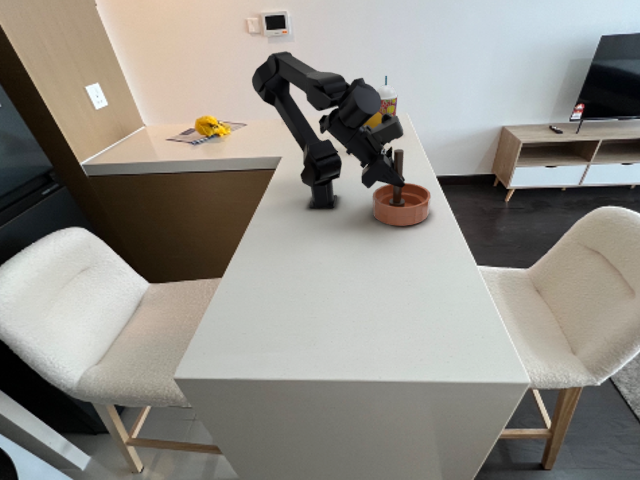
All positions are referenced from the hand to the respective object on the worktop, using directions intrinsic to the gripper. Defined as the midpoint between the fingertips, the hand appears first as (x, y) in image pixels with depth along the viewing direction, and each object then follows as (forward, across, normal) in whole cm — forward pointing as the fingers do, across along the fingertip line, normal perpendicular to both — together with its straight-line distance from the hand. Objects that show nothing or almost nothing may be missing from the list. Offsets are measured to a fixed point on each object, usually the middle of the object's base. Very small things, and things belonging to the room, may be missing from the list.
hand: (403, 183), depth 76 cm
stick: (+4, 0, +6) cm, 7 cm away
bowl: (+6, +1, +6) cm, 8 cm away
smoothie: (+2, +62, +10) cm, 63 cm away
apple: (-2, +47, +14) cm, 49 cm away
